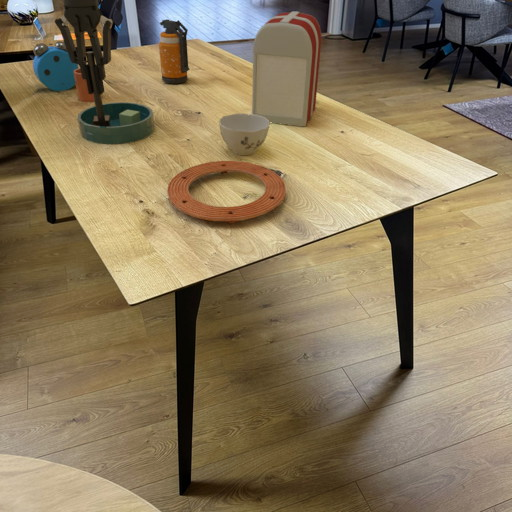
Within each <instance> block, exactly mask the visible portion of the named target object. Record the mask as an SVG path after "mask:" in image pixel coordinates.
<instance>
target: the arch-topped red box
mask: <svg viewBox="0 0 512 512" xmlns="http://www.w3.org/2000/svg"><path fill="white" fill-rule="evenodd" d="M321 50H322V31H321V27H320V24H319V21H318V20H317V19H316V17H314V16H313V15H311V14H308V13H302V12H300V11H294V10H293V11H291V12H290V11H289V12H281V13H278V14H275V16H273V17H271V18H270V19H268V20H267V21H266V22H265V23H264V24H263V25H262V26H261V27H260V28H259V29H258V31H257V33H256V35H255V37H254V41H253V46H252V95H251V97H252V98H251V99H252V100H251V114H255V115H260V116H263V117H265V118H266V119H267V120H269V122H272V123H281V124H288V125H287V126H289V125H297V126H296V127H298V126H306V125H307V126H308V124H309V122H310V120H311V119H310V117H311V116H312V117H313V114H314V112H315V110H316V105H317V95H318V82H319V81H318V80H319V72H320V71H319V70H320V61H321ZM314 109H315V110H314ZM313 111H314V112H313ZM312 113H313V114H312ZM312 117H311V118H312ZM309 119H310V120H309ZM308 121H309V122H308ZM272 123H271V124H272ZM307 123H308V124H307ZM281 124H280V125H281ZM307 126H306V127H307Z"/></svg>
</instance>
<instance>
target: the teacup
mask: <svg viewBox="0 0 512 512" xmlns="http://www.w3.org/2000/svg"><path fill="white" fill-rule="evenodd" d="M270 124H271V123H270V122H269V120H267V119H266V118H265V117H263V116H260V115H255V114H252V113H251V114H248V113H243V112H242V113H241V112H240V113H237V112H236V113H233V114H228V115H224V116H222V117H220V118H219V120H218V127H219V131H220V135H221V138H222V140H223V142H224V143H225V145H226V146H227V147H228V148H229V149H230V151H232V152H233V153H234V154H235V155H238V156H249V155H254V154H256V151H258V150H259V149H260V148H261V147H262V146H263V144H264V143H265V140H266V138H267V137H268V134H269V129H270Z"/></svg>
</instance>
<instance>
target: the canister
mask: <svg viewBox="0 0 512 512" xmlns="http://www.w3.org/2000/svg"><path fill="white" fill-rule="evenodd" d="M159 25H160V26H162V28H163V29H164V31H162V32H160V34H159V42H158V50H159V61H160V70H161V81H162V82H165V83H167V84H173V85H178V84H182V83H184V82H186V81H188V78H189V77H188V71H190V67H189V56H188V39H187V36H188V31H189V30H188V28H187V27H185V26H184V24H183V23H182V22H181V21H180V20H177V21H176V20H170V19H162V20H161V21H160V22H159Z"/></svg>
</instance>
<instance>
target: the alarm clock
mask: <svg viewBox="0 0 512 512" xmlns="http://www.w3.org/2000/svg"><path fill="white" fill-rule="evenodd" d="M33 54H34V58H33V60H32V61H33V62H32V68H33V74H34V75H35V77H36V78H37V80H38V81H39V82H40V83H41V84H42V85H44V86H45V87H46V88H47V89H48V90H51V91H54V92H64V91H69V90H71V89H73V88H74V86H76V83H75V78H74V73H73V71H74V70H75V69H79V68H80V66H79V65H78V64H76V63H72V62H71V60H70V57H69V55H68V52H67V49H66V46H65V43H64V40H58V41H56V42H55V43H54V44H53V43H48V44H47V43H44V42H38V43H35V46H34V47H33Z"/></svg>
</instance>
